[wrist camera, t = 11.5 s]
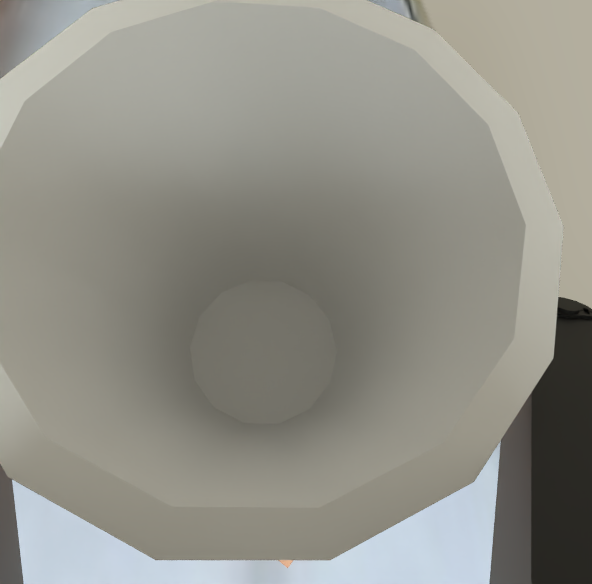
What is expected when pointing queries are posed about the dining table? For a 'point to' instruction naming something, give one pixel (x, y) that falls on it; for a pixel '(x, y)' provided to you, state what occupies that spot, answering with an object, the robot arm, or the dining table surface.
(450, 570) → the dining table surface
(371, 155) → the foam cup
